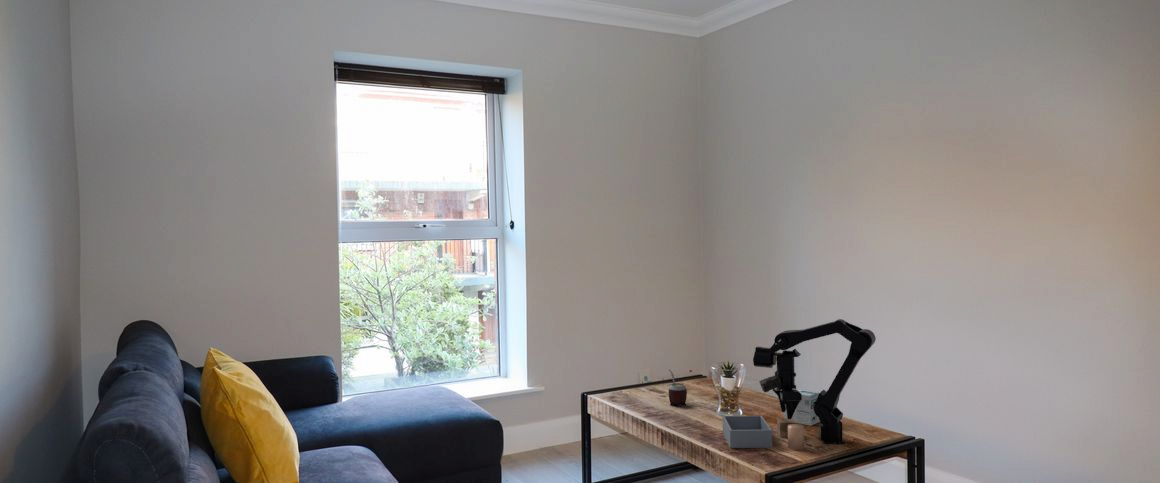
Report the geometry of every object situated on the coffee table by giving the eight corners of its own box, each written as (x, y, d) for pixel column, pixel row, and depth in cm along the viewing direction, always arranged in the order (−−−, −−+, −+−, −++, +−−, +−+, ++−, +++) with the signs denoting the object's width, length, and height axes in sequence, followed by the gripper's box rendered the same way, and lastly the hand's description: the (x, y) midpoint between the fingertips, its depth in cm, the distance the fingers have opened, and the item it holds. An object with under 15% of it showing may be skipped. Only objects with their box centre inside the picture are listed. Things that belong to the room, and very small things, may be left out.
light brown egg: (802, 445, 243) (801, 423, 243) (806, 450, 238) (805, 428, 238) (786, 445, 243) (786, 423, 243) (789, 450, 238) (789, 428, 238)
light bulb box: (820, 422, 269) (819, 391, 268) (811, 426, 264) (811, 395, 264) (792, 417, 276) (792, 387, 276) (783, 421, 271) (783, 391, 271)
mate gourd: (685, 402, 300) (684, 364, 299) (688, 407, 292) (688, 369, 292) (666, 403, 300) (665, 365, 299) (669, 408, 292) (668, 369, 291)
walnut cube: (792, 433, 257) (791, 418, 257) (795, 437, 252) (795, 422, 252) (777, 433, 257) (776, 418, 257) (780, 437, 252) (780, 422, 252)
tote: (761, 431, 258) (761, 415, 258) (772, 447, 241) (772, 430, 241) (722, 432, 259) (722, 415, 259) (730, 447, 242) (730, 430, 242)
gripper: (756, 363, 263) (756, 408, 264) (766, 375, 245) (767, 423, 245) (788, 363, 263) (789, 408, 263) (801, 374, 244) (802, 423, 245)
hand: (786, 415), depth 254 cm, fingers open, 9 cm apart
